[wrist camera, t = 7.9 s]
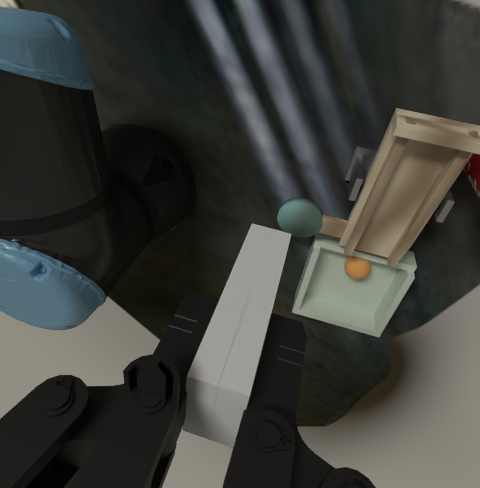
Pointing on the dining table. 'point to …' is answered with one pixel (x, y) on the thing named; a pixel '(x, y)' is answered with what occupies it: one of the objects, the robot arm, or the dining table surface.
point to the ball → (357, 267)
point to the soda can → (474, 172)
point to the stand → (360, 170)
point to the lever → (394, 187)
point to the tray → (351, 287)
